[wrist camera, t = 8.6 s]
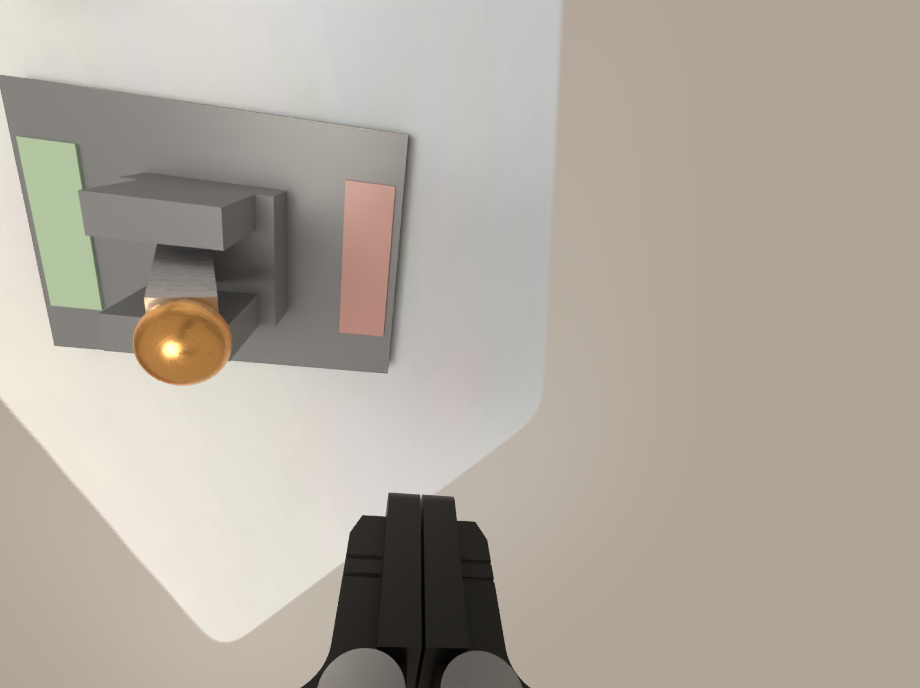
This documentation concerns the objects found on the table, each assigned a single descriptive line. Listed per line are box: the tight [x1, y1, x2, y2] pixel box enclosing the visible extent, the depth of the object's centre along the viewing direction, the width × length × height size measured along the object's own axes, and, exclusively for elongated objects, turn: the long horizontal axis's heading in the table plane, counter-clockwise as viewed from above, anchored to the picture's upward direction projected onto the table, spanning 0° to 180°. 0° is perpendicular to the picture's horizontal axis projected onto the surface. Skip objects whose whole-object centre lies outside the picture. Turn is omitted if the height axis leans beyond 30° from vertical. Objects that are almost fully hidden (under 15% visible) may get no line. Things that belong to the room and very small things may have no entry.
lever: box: [133, 244, 232, 386], centre depth 22 cm, size 3×3×13 cm
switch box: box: [0, 75, 409, 374], centre depth 28 cm, size 16×22×10 cm
